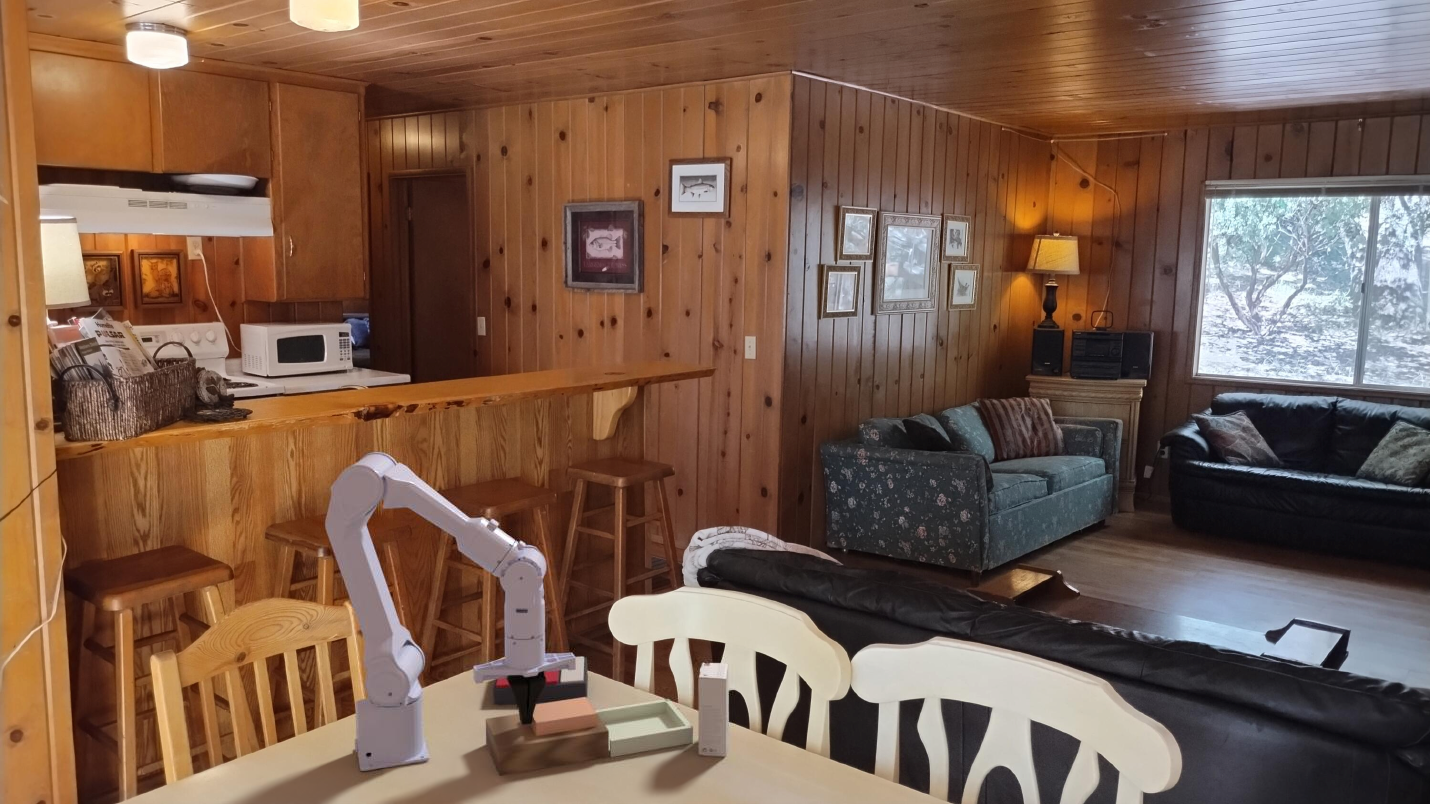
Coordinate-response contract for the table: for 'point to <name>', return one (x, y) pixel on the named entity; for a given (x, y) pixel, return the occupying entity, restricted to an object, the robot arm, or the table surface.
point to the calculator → (550, 685)
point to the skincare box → (713, 709)
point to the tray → (645, 727)
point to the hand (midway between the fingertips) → (525, 721)
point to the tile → (563, 716)
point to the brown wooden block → (541, 745)
